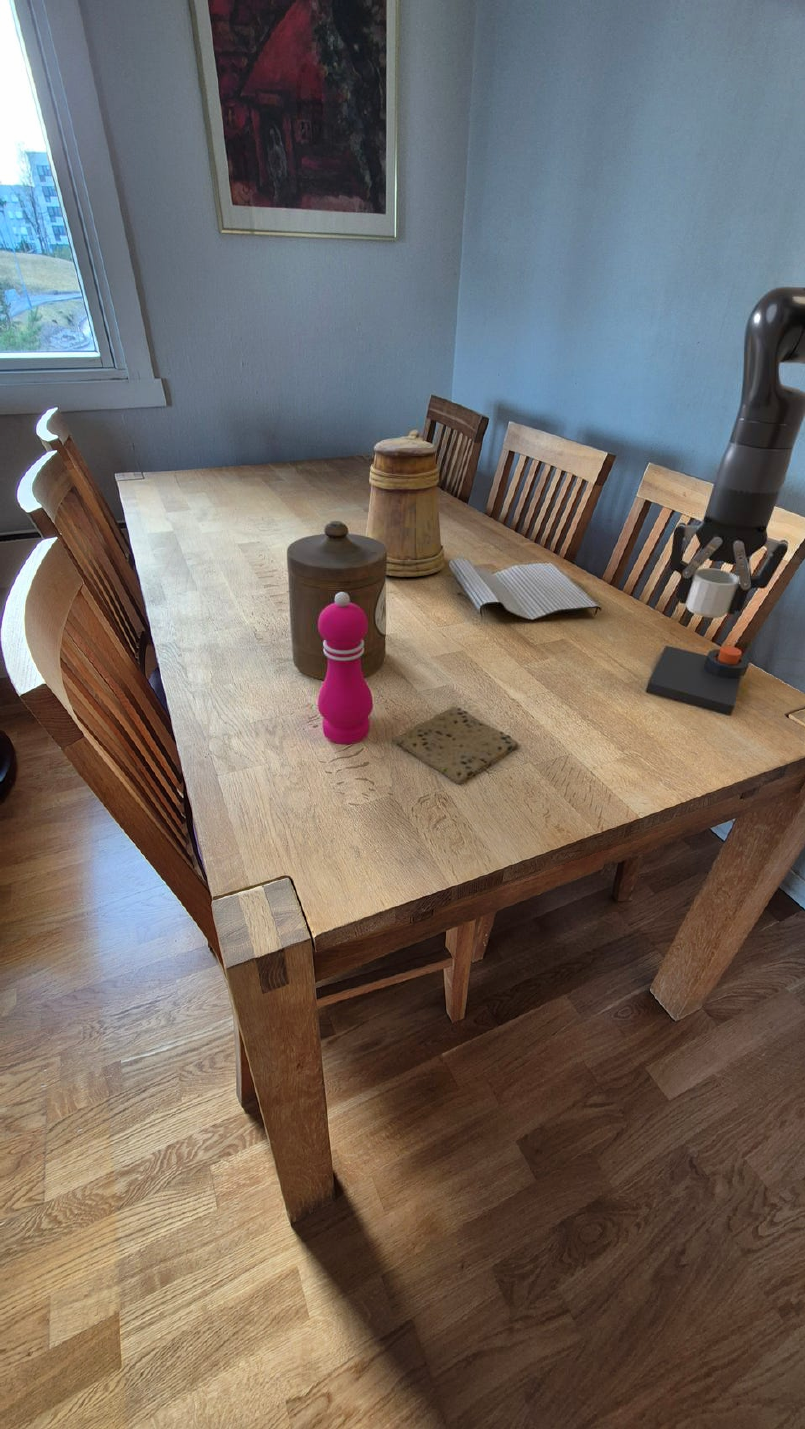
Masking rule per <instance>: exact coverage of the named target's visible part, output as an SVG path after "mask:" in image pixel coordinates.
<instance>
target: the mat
mask: <svg viewBox="0 0 805 1429" xmlns="http://www.w3.org/2000/svg"><path fill="white" fill-rule="evenodd" d="M448 566H449V570H450V572H451V574H452V576H453V577H454V579H455V580H456V582H457V583H458V585H459V586H460V587H461V589H462V590H463V591H464V593H465V594H466V596H467V597H468V599H469V600H470V602H471V603H472V605H473V606H474V607H475V609H476V611H477V612H478V613H479V615H480V618H481V620H483V613H482V609H483V607H484V606H485V605H491V604H492V605H493V604H496V605H497V606H499V607H500V608H502V609H504V611H506V612H509V613H510V614H513V615H515V616H517V617H519V618H521V619H527V620H532V621H536V620H540V619H543V618H545V617H548V616H551V615H553V614H555V613H559V612H575V611H580V610H587V609H595V611H594V614H593V616H595V615H596V614H598V610H599V611H602V610H603V609H602V606H601V605H599V604H598V603H597V601H595V600H594V599H592V597H590V596H589V594H587V593H586V592H585V591H584V590H583V589H582V588H581V587H579V586H578V584H576V582H574V581H573V580H572V579H571V578H570V577H569V576H567V575H566V574H565V573H564V572H563V571H562V570H561V569H560V568H559V567H558V566H556V565H555V564H554V563H552V562H548V563H547V562H544V563H543V562H542V563H528V564H525V563H524V564H517V565H514V566H511V567H509V568H506V569H505V568H504V569H503V570H499V571H496V572H490V571H487V570H485V569H483V568H480V567H478V566H476V565H474V564H473V563H472V562H471V560H470V559H468V558H467V557H455V558H452V559H451V560H450V561H449V563H448ZM481 623H482V624H483V623H484V622H483V621H481Z"/></svg>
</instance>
